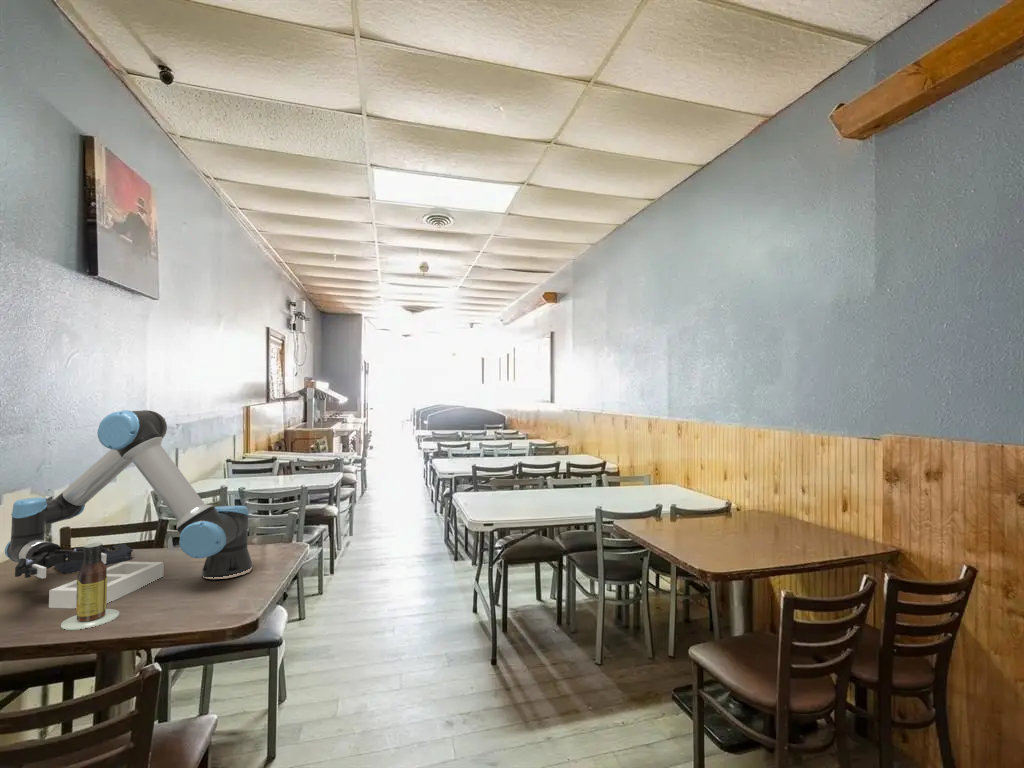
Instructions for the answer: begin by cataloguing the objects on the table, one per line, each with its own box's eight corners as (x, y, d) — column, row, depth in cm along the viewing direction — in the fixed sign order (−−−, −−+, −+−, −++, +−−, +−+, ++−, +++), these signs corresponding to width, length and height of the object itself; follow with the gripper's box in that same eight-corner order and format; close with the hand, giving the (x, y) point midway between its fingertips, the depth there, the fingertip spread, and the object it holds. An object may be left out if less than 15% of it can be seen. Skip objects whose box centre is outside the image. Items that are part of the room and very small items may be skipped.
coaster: (130, 611, 139) (130, 609, 139) (92, 630, 127) (92, 628, 127) (89, 610, 139) (89, 608, 139) (47, 629, 127) (47, 627, 127)
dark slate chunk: (47, 568, 175) (47, 555, 175) (121, 552, 194) (121, 540, 194) (63, 576, 167) (64, 562, 167) (138, 559, 186) (139, 546, 186)
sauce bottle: (87, 613, 136) (91, 540, 137) (111, 612, 136) (114, 540, 137) (68, 623, 129) (72, 547, 130) (93, 623, 130) (97, 547, 131)
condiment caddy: (163, 577, 166) (163, 562, 166) (95, 608, 140) (96, 591, 140) (123, 576, 166) (123, 561, 166) (48, 607, 141) (49, 590, 141)
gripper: (91, 556, 158) (126, 566, 149) (-18, 580, 136) (15, 594, 126) (92, 532, 159) (127, 541, 149) (-17, 553, 136) (16, 565, 127)
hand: (76, 565), depth 138 cm, fingers open, 13 cm apart
